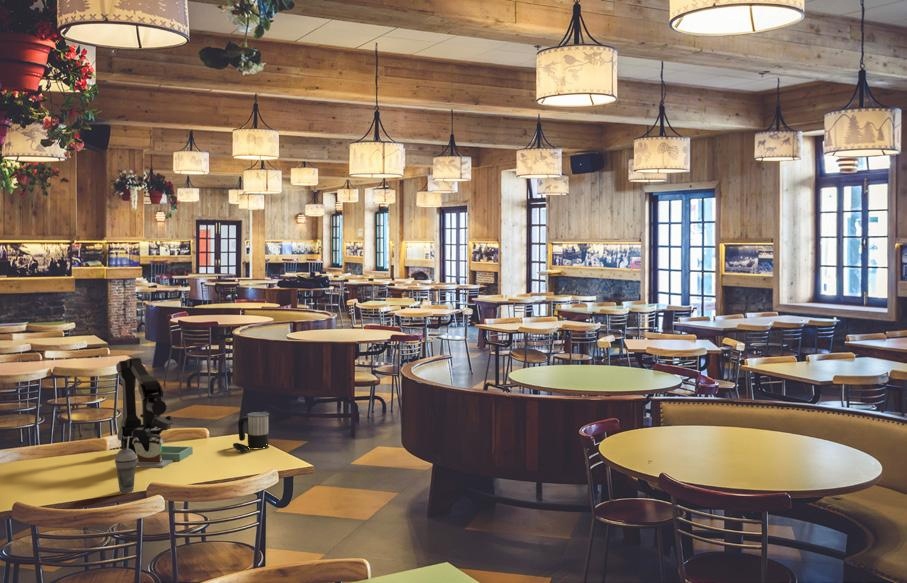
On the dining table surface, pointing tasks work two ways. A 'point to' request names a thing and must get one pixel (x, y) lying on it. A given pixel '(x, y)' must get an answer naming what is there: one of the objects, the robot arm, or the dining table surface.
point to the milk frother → (253, 431)
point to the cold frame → (176, 452)
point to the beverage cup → (126, 469)
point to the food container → (154, 450)
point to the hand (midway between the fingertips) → (150, 449)
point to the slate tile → (154, 464)
